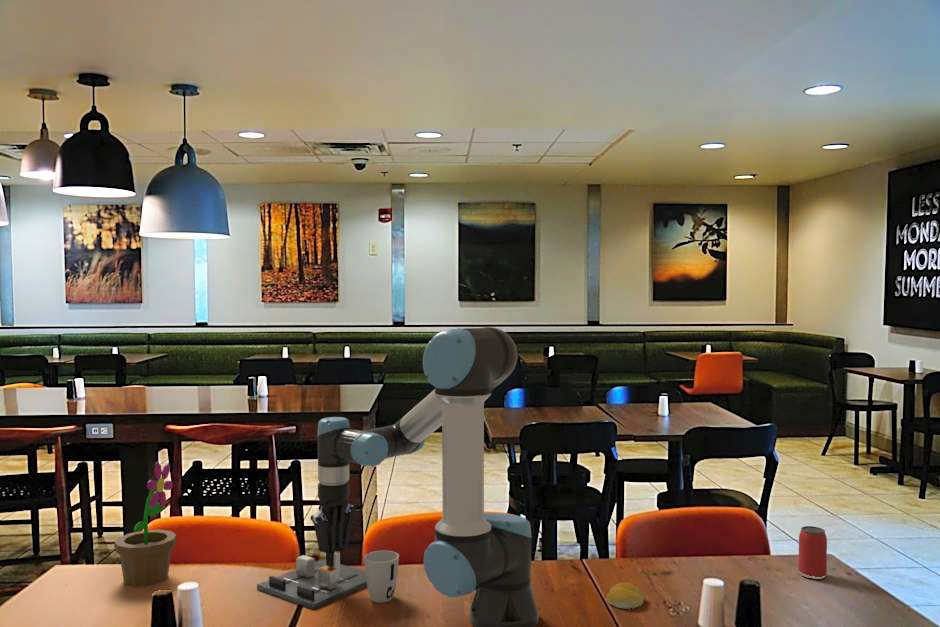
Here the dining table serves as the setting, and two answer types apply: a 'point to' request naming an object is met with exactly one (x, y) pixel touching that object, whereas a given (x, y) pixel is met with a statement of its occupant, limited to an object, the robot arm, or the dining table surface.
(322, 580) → the near fader
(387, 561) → the cup
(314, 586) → the console
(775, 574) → the dining table surface
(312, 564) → the far fader
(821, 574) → the beer can
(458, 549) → the robot arm
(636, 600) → the bread roll
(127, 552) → the flowerpot
